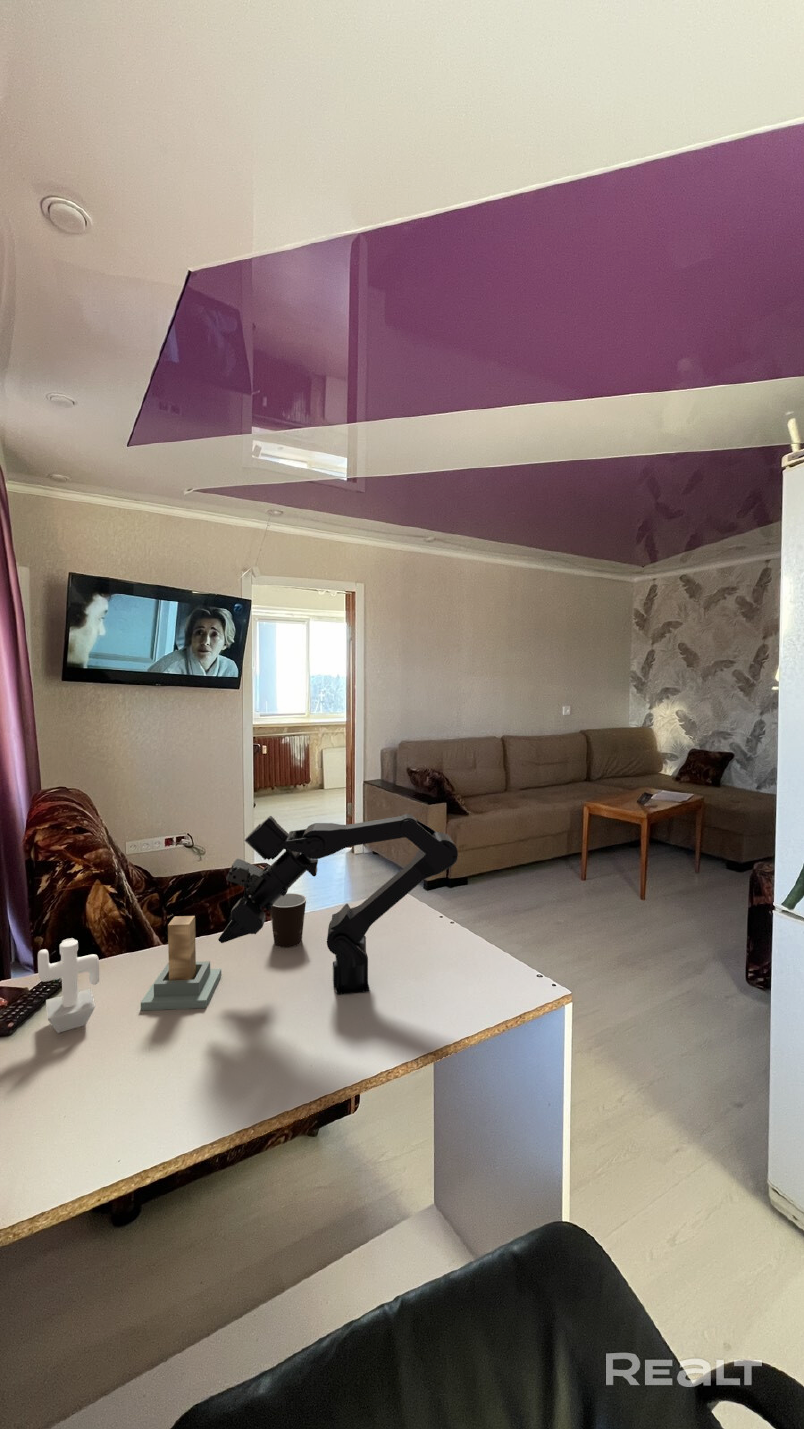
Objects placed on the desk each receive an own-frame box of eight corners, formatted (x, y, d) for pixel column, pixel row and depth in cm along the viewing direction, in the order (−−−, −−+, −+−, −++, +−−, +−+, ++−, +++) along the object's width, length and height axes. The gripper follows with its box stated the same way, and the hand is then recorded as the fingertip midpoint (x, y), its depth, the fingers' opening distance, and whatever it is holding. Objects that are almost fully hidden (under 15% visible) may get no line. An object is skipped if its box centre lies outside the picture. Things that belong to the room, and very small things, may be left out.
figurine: (102, 1024, 103) (100, 942, 102) (40, 1042, 97) (38, 956, 97) (98, 1005, 109) (96, 928, 108) (39, 1021, 103) (36, 940, 103)
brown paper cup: (298, 951, 131) (298, 908, 130) (263, 947, 132) (262, 905, 132) (316, 929, 142) (315, 890, 142) (283, 926, 144) (283, 887, 143)
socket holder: (221, 975, 120) (221, 956, 120) (206, 1007, 108) (206, 987, 108) (162, 977, 119) (162, 958, 119) (140, 1010, 107) (140, 989, 107)
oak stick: (196, 978, 116) (195, 915, 115) (190, 989, 112) (189, 924, 111) (175, 979, 115) (174, 916, 115) (169, 990, 111) (167, 924, 111)
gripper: (260, 834, 122) (207, 886, 122) (242, 862, 104) (181, 923, 103) (297, 870, 123) (245, 921, 123) (287, 903, 105) (226, 964, 105)
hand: (225, 930), depth 114 cm, fingers open, 9 cm apart
